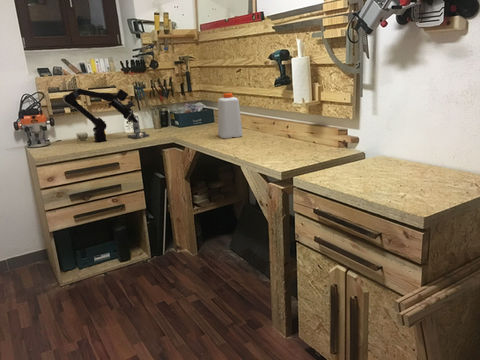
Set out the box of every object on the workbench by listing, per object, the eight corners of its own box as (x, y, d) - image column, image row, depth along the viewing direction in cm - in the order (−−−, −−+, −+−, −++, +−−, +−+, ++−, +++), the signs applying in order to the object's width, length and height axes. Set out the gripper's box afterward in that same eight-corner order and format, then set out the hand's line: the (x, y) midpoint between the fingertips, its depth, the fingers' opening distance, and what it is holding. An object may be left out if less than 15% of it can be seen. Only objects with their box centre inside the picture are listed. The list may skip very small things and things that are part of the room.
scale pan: (135, 136, 273) (135, 134, 273) (129, 134, 279) (129, 133, 279) (145, 134, 279) (145, 132, 278) (139, 132, 284) (139, 131, 284)
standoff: (135, 134, 276) (133, 117, 272) (132, 133, 279) (130, 116, 275) (141, 133, 278) (139, 116, 275) (138, 132, 281) (136, 115, 278)
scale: (136, 139, 270) (135, 133, 269) (127, 137, 279) (126, 131, 278) (150, 136, 277) (149, 130, 276) (141, 134, 286) (140, 129, 285)
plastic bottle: (238, 133, 274) (236, 92, 265) (244, 137, 260) (242, 93, 251) (217, 135, 270) (214, 93, 262) (221, 139, 256) (219, 95, 248)
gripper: (126, 98, 261) (145, 114, 267) (127, 96, 279) (145, 110, 285) (115, 111, 262) (134, 126, 268) (117, 108, 280) (135, 122, 285)
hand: (137, 121), depth 276 cm, fingers open, 9 cm apart
